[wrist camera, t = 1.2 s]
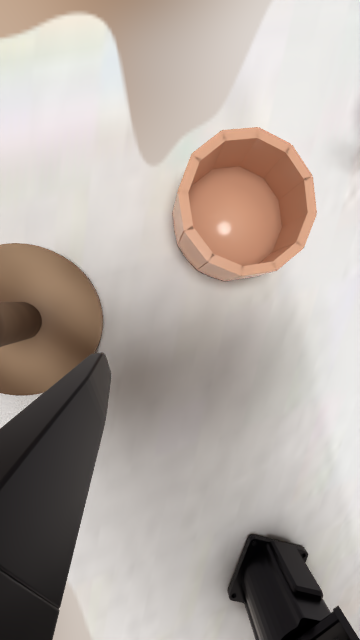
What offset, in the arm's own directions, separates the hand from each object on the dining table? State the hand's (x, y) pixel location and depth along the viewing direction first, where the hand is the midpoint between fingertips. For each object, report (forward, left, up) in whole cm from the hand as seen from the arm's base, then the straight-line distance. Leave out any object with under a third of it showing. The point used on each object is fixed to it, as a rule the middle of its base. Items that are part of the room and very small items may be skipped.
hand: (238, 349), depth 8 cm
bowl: (+10, -1, -14) cm, 17 cm away
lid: (-4, +12, -14) cm, 19 cm away
